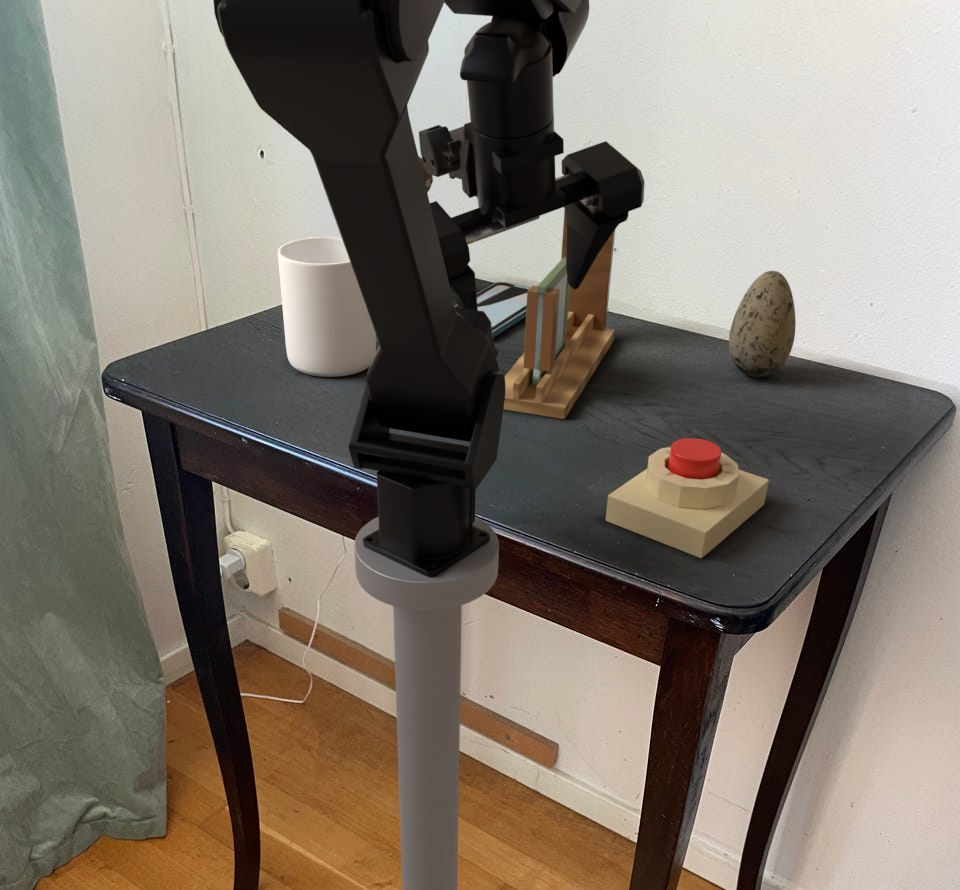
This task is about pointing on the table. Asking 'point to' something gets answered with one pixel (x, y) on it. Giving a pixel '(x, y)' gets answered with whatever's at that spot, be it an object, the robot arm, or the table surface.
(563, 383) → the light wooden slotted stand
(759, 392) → the table surface
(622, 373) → the table surface
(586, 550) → the table surface
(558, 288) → the sash
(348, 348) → the mug
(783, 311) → the decorative egg
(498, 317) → the smartphone
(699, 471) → the button
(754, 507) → the control block
